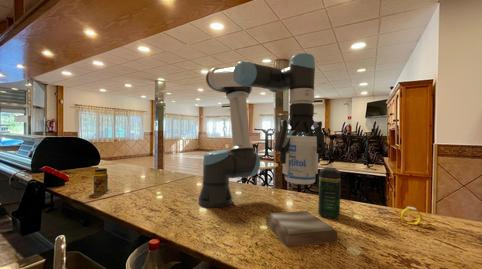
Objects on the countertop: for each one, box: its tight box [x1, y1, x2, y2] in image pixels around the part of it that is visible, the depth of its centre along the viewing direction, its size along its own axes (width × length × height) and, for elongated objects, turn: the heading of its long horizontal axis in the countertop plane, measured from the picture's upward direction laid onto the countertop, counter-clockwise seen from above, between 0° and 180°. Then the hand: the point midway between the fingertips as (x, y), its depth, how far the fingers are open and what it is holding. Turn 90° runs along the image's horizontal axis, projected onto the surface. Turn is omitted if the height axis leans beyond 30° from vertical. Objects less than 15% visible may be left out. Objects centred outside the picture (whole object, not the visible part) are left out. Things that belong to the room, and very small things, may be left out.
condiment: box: [91, 167, 110, 196], centre depth 112 cm, size 7×8×12 cm
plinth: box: [265, 210, 338, 248], centre depth 70 cm, size 16×16×4 cm
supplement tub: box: [284, 135, 317, 185], centre depth 70 cm, size 10×10×15 cm
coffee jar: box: [317, 166, 341, 219], centre depth 87 cm, size 10×8×19 cm
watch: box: [400, 206, 423, 226], centre depth 79 cm, size 6×3×6 cm, turn 75°
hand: (300, 173), depth 70 cm, fingers closed on supplement tub, 10 cm apart
